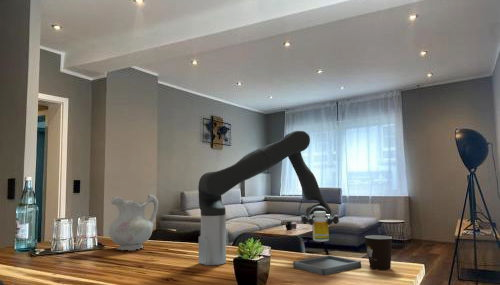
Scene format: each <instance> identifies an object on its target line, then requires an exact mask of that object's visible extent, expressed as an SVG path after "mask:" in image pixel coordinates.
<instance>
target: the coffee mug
mask: <svg viewBox="0 0 500 285" xmlns="http://www.w3.org/2000/svg"><path fill="white" fill-rule="evenodd" d="M364 238H365V241H364V245H365V248H366V250H367V251H366V252H367V257H368V263H369V268H370V269H371V268H372V269H371V270H374V269H378V270H377V271H389V270H388V269H390V268H392V249H393V248H392V245H393V237H392V236H389V235H378V234H377V235H376V234H375V235H373V234H372V235H366V236H364ZM390 270H391V269H390Z"/></svg>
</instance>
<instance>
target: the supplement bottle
mask: <svg viewBox="0 0 500 285" xmlns="http://www.w3.org/2000/svg"><path fill="white" fill-rule="evenodd" d="M314 216H315V218H313V219H312V225H311V226H312V227H311V228H312V240H313V241H314V242H322V243H323V242H327V241H328V242H329V240H330V235H329V234H330V233H329V232H330V231H329V229H330V228H329V225H328V219H327V218H326V217H325V216H326V212H325V211H315V212H314Z"/></svg>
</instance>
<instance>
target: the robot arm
mask: <svg viewBox="0 0 500 285" xmlns="http://www.w3.org/2000/svg"><path fill="white" fill-rule="evenodd" d="M310 142H311V138H310V135H309V134H308V132H306V131H303V130H301V129H300V130H299V129H298V130H294V131H292V132H290V133H289V132H288V133H287V134H285V135H284V136H283V137H282V139H281V140H279V141H276V142H273V143H270V144H267V145H264V146H262V147H259V148H256V149H255V150H253V151H251V152H248V154H245V155H244V156H243V157H242V158H240V159H239V160H238V161H237V162H236V163H234V164H233V165H230V166H227V167H225V168H223V169H220V170H218V171H209V172H205V173H204V174H202V175H201V177H200V178H199V180H198V187H197V188H198V189H197V190H198V191H197V192H198V207H199V210H200V236H198V263H199V264H201V265H203V266H218V265H223V264H226V263H227V238H226V237H227V231H226V230H227V228H226V226H227V225H226V224H227V221H226V220H227V219H226V218H227V217H226V215H227V214H226V213H227V211H226V207H225V205H224V203H223V201H222V196H223V195H225V194H226V193H228V192H229V191H231V189H233V188H235V187H236V186H237V185H239V184H240V183H242V182H245V181H247V180H250V179H252V178H253V177H256V176H258V175H260V174H262V173H263V172H265V171H268V170H269V169H271V168H273V167H274V166H276V165H277V164H279V163H280V162H282V161H283V160H284V159H286V158H288V160H289V162H290V163H291V166H292V168H293V170H294V171H295V172H294V173H295V174H296V176H297V179H298V182H299V184H300V187H301V190H302V194H303V196H304V198H305V200H306V201H317V202H318V203H316V204H315V205H314V204H313V205H310V206H308V207H307V208H306V209H305V215H304V214H300V223H302V224H303V225H306V224H308V225H310V226H312V219H313V218H315V216H314V212H315V211H325V212H326V216H325V217H326V218H327V219H328V226H330V225H333V224H334V225H337V224H339V223H340V215H339V214H335V215H333V216H332V213H333V212H332V209H331V207H330V206H329V204H328V202H327V201H326V200H325V197H324V196H323V194H322V192H321V190H320V187H319V184H318V180H317V178H316V177H315V175H314V173H313V172H312V171H311V169H310V168H309V166H308V165H307V164H306V162H305V160H304V158H303V155H302V152H303V151H305V150H307V149H308V148H309V145H310Z"/></svg>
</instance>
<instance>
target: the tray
mask: <svg viewBox="0 0 500 285" xmlns="http://www.w3.org/2000/svg"><path fill="white" fill-rule="evenodd" d="M292 264H293V265H292V268H294V269H298V270H302V271H306V272H309V273H313V274H317V275H321V276H327V275H331V274H335V273H336V274H337V273H340V272H344V271H348V270H353V269H357V268H361V267H362V262H361V260H355V259H351V258H345V257H340V256H335V255H331V254H330V255H329V254H328V255H324V256H318V257H313V258H312V257H311V258H307V259H302V260H296V261H293V262H292Z"/></svg>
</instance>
